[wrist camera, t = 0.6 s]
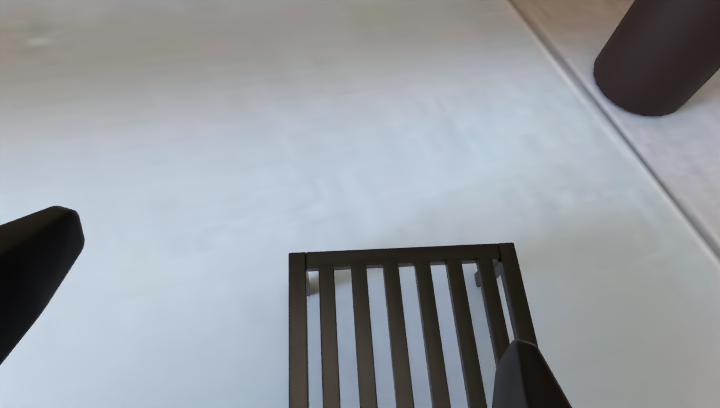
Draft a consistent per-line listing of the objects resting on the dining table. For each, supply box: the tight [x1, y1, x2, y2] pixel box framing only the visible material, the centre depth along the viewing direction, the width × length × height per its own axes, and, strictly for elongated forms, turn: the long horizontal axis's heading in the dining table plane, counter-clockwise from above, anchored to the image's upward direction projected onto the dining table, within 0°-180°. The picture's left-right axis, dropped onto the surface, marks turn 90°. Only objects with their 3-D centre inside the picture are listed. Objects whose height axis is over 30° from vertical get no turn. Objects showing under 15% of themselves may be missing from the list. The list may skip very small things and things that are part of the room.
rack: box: [289, 243, 538, 408], centre depth 22 cm, size 14×11×5 cm
